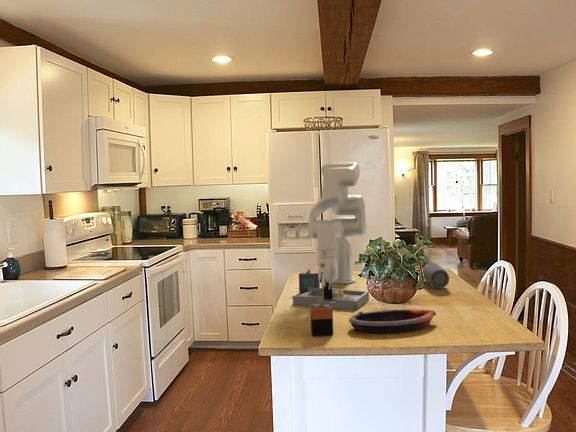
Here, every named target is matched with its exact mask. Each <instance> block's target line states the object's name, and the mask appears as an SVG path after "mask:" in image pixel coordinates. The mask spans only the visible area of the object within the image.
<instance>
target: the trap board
mask: <svg viewBox="0 0 576 432" xmlns="http://www.w3.org/2000/svg"><path fill="white" fill-rule="evenodd" d="M343 295H344V296H343V297H342V298H340V299H336V300H332V299H331V300H327V299H323V287H320V288H311V287H308V291H307V292H306V293H304V294H300V295H292V305H297V306H307V307H311V306H313V304H319V305H320V306H322V305H324V304H329V305H330V306H331V307H332V309H342V310H343V309H344V310H352V311H353V310H355V311H357V310H359V309H360V308H361V307H362V306H363V305H365V304H366V303H367V302H369V300H370V292H369V291H365V290H354V289H353V290H352V289H343Z"/></svg>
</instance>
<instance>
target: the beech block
mask: <svg viewBox="0 0 576 432" xmlns="http://www.w3.org/2000/svg"><path fill="white" fill-rule="evenodd" d="M343 290H344V288H335V287H333V288H332V295H333V298H332V300H336V299H340V298H342V297H343V296H344V295H343ZM323 299H324V291H323Z"/></svg>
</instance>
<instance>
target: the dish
mask: <svg viewBox="0 0 576 432" xmlns="http://www.w3.org/2000/svg"><path fill="white" fill-rule="evenodd" d="M436 315H437V313H436V311H435V310H431V309H415V308H414V309H413V308H412V309H411V308H408V309H407V308H402V309H401V308H400V309H399V308H397V309H394V308H393V309H383V310H381V309H380V310H372V311H366V312H363V311H358V313H355V314H354V315H351V316H350V317H349V318H348V319H349V320H348V321H349V323H350V325H351V327H352V328H353V329H355V330H357V331H360V332H365V333H376V334H377V333H378V334H389V333H390V334H391V333H401V332H403V333H404V332H409V331H410V332H411V331H416V330H419V329H423V328H425V327H426V326H428V325H429V324H431V322H432V319H434V316H435V317H436Z"/></svg>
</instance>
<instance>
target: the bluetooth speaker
mask: <svg viewBox="0 0 576 432" xmlns="http://www.w3.org/2000/svg"><path fill="white" fill-rule="evenodd" d="M429 261H430V263H429V264H428V265H427V266H425V267H424V268H423V274H424V278H423V279H424V281H425V282H426V283H428V285H429V286H430V287H431V288H433V289H443V288H446V287H447V286H448V284H449V283H450V276H449V274H448V272H447V271H446V270H445V269H444V268H443V267H442V266H440V265H439V264H438V263H435V262H434V261H431V260H429Z"/></svg>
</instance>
